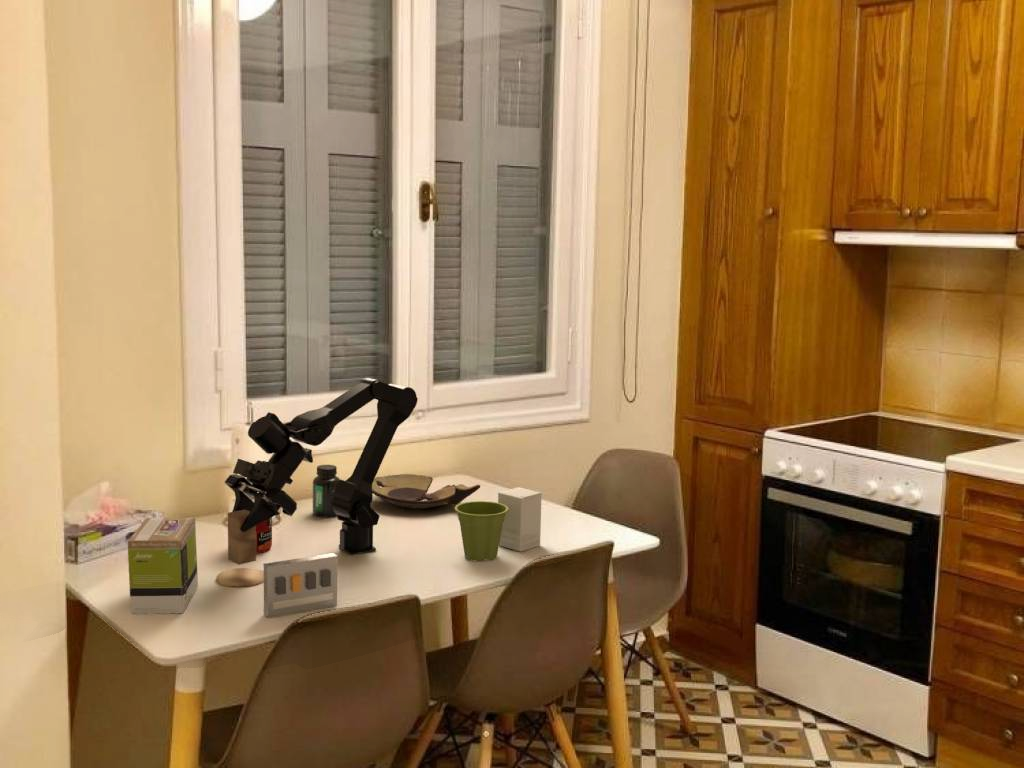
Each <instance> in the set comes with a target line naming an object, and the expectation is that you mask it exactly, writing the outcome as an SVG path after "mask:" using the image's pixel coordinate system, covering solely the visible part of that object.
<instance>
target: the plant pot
mask: <svg viewBox="0 0 1024 768" xmlns="http://www.w3.org/2000/svg"><path fill="white" fill-rule="evenodd" d="M454 510H455V512H457V519H458V521H459V525H460V532H461V539H462V547H463V551H464V552H463V553H464V557H466V559H468V560H471V561H475V562H484V561H485V560H488V561H492V560H494V559H496V558H497V557H498V553H499V547H500V545H499V542H500V537H501V531H502V526H503V522H504V519H505V514H506V512H507V511H508V507H507V506H506V505H504V504H501V503H498V501H497V502H496V501H487V500H486V501H484V500H478V501H477V500H475V501H465V502H460V503H459V504H456V505H454Z"/></svg>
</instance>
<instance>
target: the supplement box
mask: <svg viewBox="0 0 1024 768" xmlns="http://www.w3.org/2000/svg"><path fill="white" fill-rule="evenodd" d="M542 494H543V493H542V492H539V491H535V490H532V489H528V488H523V487H520V486H518V487H514V488H510V489H506V490H502V491H500V492H499V491H498V493H497V503H501V504H504V505H506V506H507V507H508V511H507V512H506V514H505V519H504V522H503V526H502V531H501V537H500V542H499V547H504V548H506V549H510V550H514V551H517V552H523V551H526V550H530V549H534V548H536V547H539V546H541V528H542V527H541V524H542Z"/></svg>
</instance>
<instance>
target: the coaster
mask: <svg viewBox="0 0 1024 768" xmlns="http://www.w3.org/2000/svg"><path fill="white" fill-rule="evenodd" d="M216 582H217V583H218V584H219V583H220V585H221V584H223V585H222V586H224V585H227V586H226V587H229V586H236V587H235V588H243V587H242V586H248V587H253V585H254V586H257V585H256V584H258V585H260V584H262V582H263V583H264V570H262V569H258V568H255V567H254V568H253V567H237V568H231V569H227V570H224V571H221V572H220V573H218V574H217V575H216Z"/></svg>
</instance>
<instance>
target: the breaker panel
mask: <svg viewBox="0 0 1024 768" xmlns="http://www.w3.org/2000/svg"><path fill="white" fill-rule="evenodd" d="M263 571H264V582H263V615H264V617H265V618H267V619H270V618H276V617H277V618H278V617H280V616H281V617H282V616H288V615H293V614H298V613H303V612H310V611H315V610H320V609H326V608H331V607H332V608H333V607H337V606H338V555H337V554H335V553H334V552H333V553H325V554H324V553H323V554H318V555H312V556H306V557H299V558H298V557H297V558H291V559H285V560H280V561H279V560H278V561H273V562H267V563H263Z"/></svg>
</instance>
